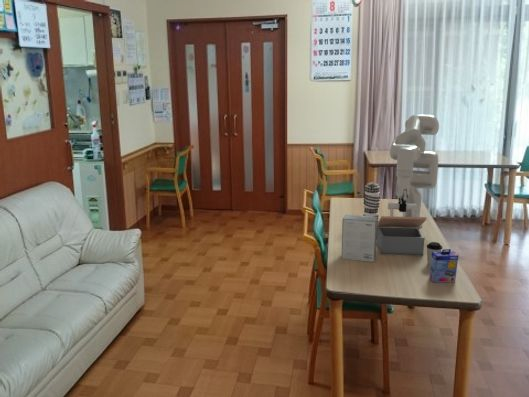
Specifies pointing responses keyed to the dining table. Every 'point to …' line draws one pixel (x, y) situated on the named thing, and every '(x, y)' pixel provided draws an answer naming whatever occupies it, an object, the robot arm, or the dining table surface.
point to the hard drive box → (359, 237)
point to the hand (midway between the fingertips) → (401, 210)
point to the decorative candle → (371, 200)
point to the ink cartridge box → (443, 266)
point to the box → (400, 241)
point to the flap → (401, 218)
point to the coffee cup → (432, 250)
